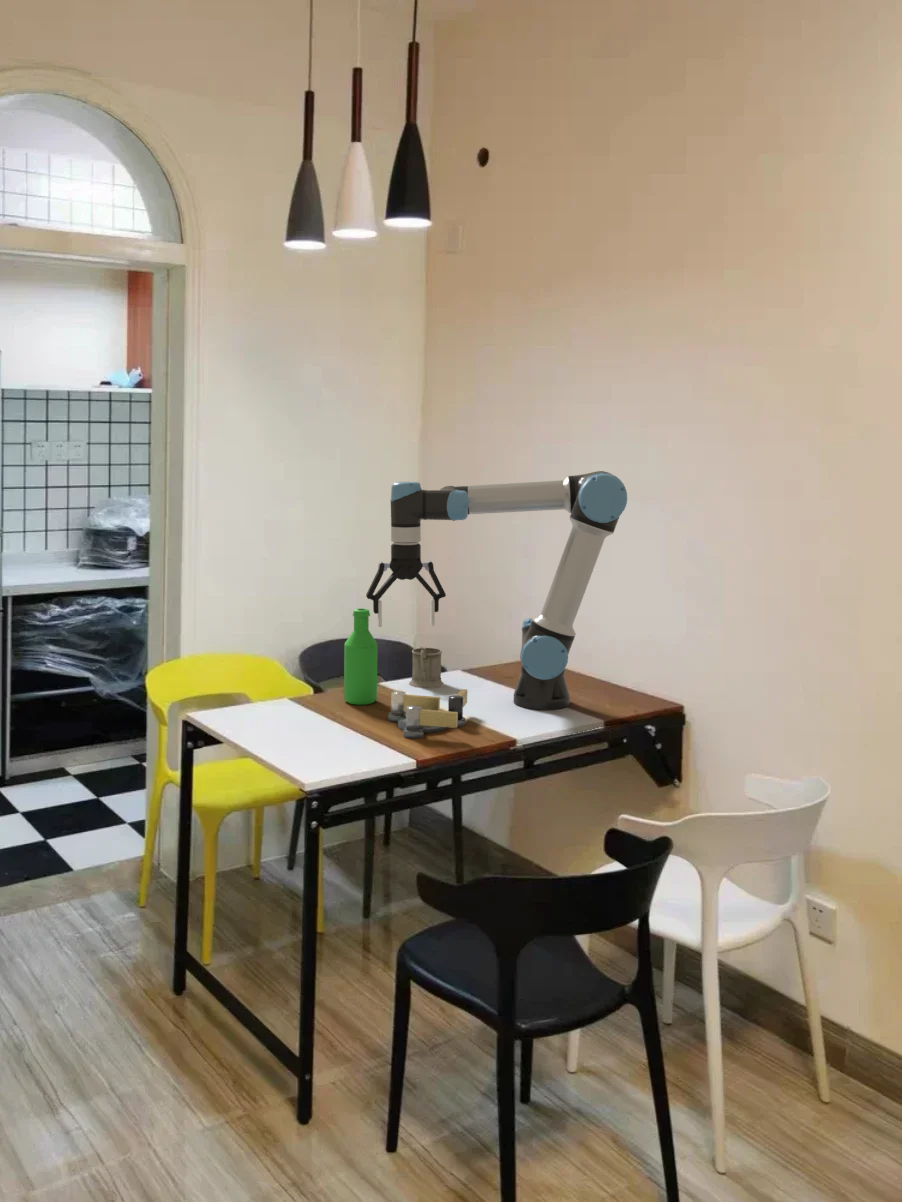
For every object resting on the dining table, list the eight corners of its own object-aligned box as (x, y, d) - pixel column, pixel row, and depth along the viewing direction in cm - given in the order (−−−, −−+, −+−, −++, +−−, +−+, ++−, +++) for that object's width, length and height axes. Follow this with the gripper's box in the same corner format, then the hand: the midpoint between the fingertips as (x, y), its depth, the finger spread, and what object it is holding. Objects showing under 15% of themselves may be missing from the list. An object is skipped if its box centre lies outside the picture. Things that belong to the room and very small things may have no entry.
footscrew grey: (404, 730, 270) (404, 708, 269) (408, 727, 273) (408, 704, 272) (455, 735, 267) (455, 712, 266) (458, 731, 270) (458, 708, 270)
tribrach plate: (467, 722, 284) (467, 713, 283) (451, 742, 267) (451, 732, 266) (391, 716, 288) (391, 707, 288) (370, 735, 271) (370, 725, 271)
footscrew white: (389, 715, 284) (389, 693, 283) (393, 711, 287) (393, 690, 286) (437, 719, 281) (437, 697, 280) (440, 715, 284) (441, 694, 283)
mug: (412, 679, 329) (413, 638, 327) (445, 680, 328) (446, 640, 326) (403, 690, 315) (404, 648, 313) (438, 692, 314) (439, 650, 312)
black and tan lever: (460, 721, 280) (461, 699, 279) (446, 719, 280) (447, 698, 279) (471, 708, 292) (471, 687, 291) (457, 707, 292) (458, 686, 291)
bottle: (379, 698, 306) (380, 607, 302) (374, 706, 297) (375, 612, 293) (347, 696, 307) (348, 606, 303) (341, 704, 298) (341, 611, 294)
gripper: (451, 540, 293) (451, 621, 296) (355, 542, 289) (356, 623, 292) (456, 543, 285) (456, 626, 289) (357, 545, 281) (358, 629, 285)
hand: (406, 625), depth 290 cm, fingers open, 13 cm apart
